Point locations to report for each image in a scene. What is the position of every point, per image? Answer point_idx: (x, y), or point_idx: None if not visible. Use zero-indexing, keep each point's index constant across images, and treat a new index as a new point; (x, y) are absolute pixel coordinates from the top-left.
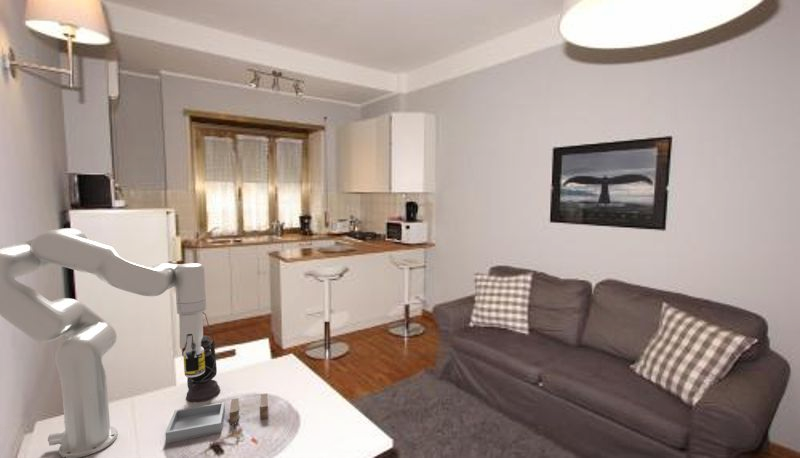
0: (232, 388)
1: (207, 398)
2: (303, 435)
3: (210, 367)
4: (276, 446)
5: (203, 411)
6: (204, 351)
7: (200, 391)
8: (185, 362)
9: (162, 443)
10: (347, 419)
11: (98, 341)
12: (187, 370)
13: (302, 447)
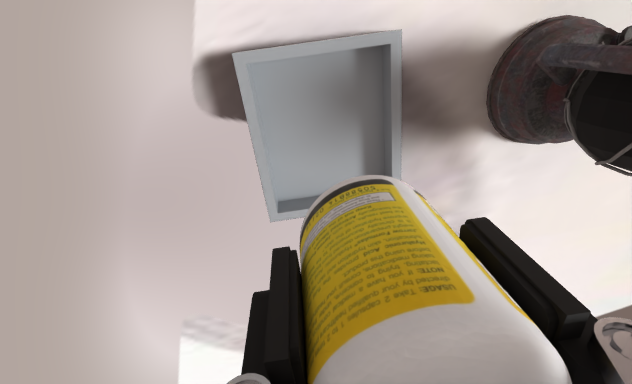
0: (534, 176)
1: (493, 114)
2: (233, 362)
3: (616, 162)
4: (198, 326)
5: (386, 134)
6: None
7: (522, 94)
8: (330, 275)
9: (239, 38)
10: None
11: None
12: (275, 259)
13: (192, 364)
